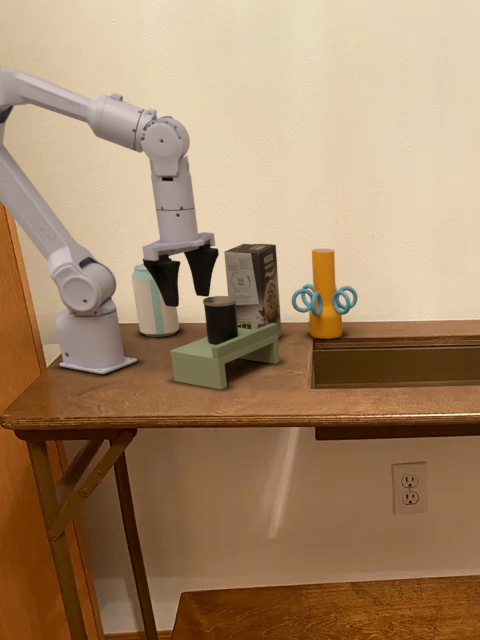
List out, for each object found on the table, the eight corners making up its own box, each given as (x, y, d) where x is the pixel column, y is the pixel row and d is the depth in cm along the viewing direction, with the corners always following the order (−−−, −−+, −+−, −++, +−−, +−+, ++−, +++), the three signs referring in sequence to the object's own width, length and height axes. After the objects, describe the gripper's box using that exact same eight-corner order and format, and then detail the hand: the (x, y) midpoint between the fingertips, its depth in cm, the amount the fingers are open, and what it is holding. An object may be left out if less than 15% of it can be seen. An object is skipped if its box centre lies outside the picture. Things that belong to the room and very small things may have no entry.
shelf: (174, 381, 124) (168, 340, 120) (235, 354, 136) (231, 317, 133) (221, 389, 120) (217, 347, 117) (279, 361, 133) (277, 323, 130)
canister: (201, 343, 125) (196, 300, 122) (220, 335, 129) (216, 294, 126) (227, 347, 123) (222, 304, 120) (246, 339, 127) (242, 297, 124)
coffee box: (266, 348, 139) (258, 252, 131) (231, 346, 140) (222, 250, 133) (283, 335, 147) (277, 243, 139) (250, 333, 148) (242, 241, 140)
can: (140, 329, 150) (130, 263, 144) (178, 327, 151) (170, 261, 146) (140, 339, 144) (129, 270, 138) (180, 336, 146) (171, 268, 140)
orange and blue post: (350, 325, 154) (348, 244, 146) (365, 340, 145) (364, 253, 138) (288, 330, 150) (283, 247, 143) (299, 345, 142) (294, 257, 134)
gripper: (164, 215, 112) (178, 313, 118) (226, 204, 123) (235, 293, 130) (125, 213, 114) (141, 308, 121) (190, 201, 126) (201, 289, 132)
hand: (187, 300), depth 126 cm, fingers open, 7 cm apart
